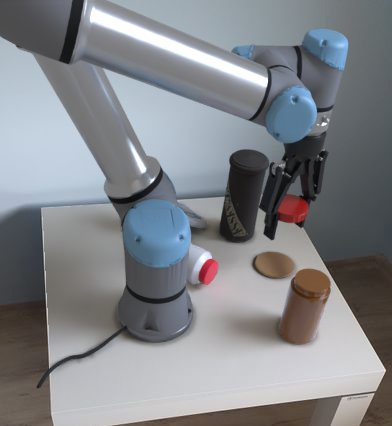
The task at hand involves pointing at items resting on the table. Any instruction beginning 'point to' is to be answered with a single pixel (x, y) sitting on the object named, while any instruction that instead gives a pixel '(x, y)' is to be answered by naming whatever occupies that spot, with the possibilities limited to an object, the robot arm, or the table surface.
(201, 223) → the button
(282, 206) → the jar lid
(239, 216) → the container
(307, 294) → the sauce jar
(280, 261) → the coaster
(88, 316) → the table surface
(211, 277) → the pill bottle
